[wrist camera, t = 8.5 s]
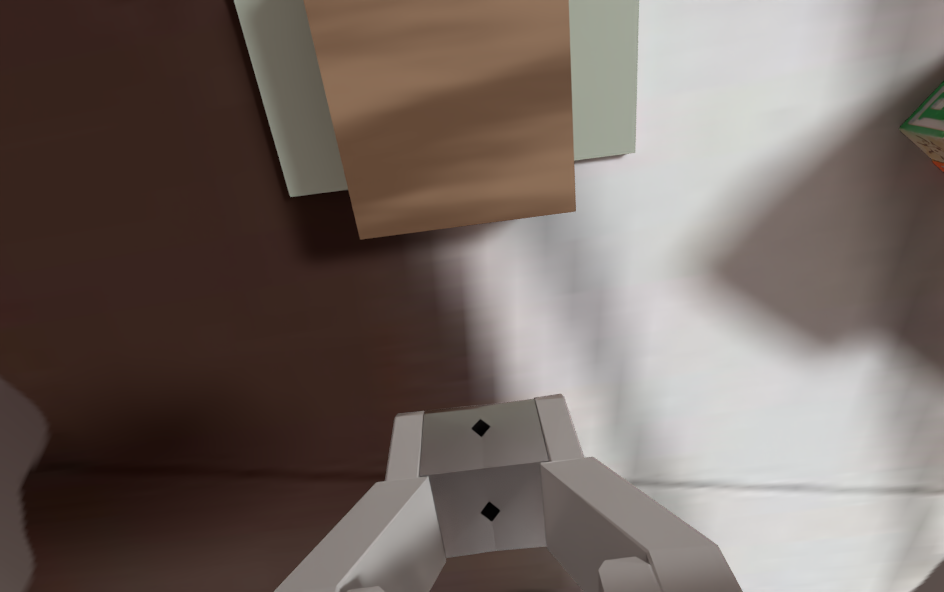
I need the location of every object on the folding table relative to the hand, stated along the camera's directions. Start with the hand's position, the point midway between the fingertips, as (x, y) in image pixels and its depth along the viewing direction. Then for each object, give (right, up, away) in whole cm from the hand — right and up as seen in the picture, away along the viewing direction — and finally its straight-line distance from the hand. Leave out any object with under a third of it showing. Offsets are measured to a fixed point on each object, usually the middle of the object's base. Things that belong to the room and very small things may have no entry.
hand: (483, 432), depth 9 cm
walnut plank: (0, +7, +16) cm, 17 cm away
